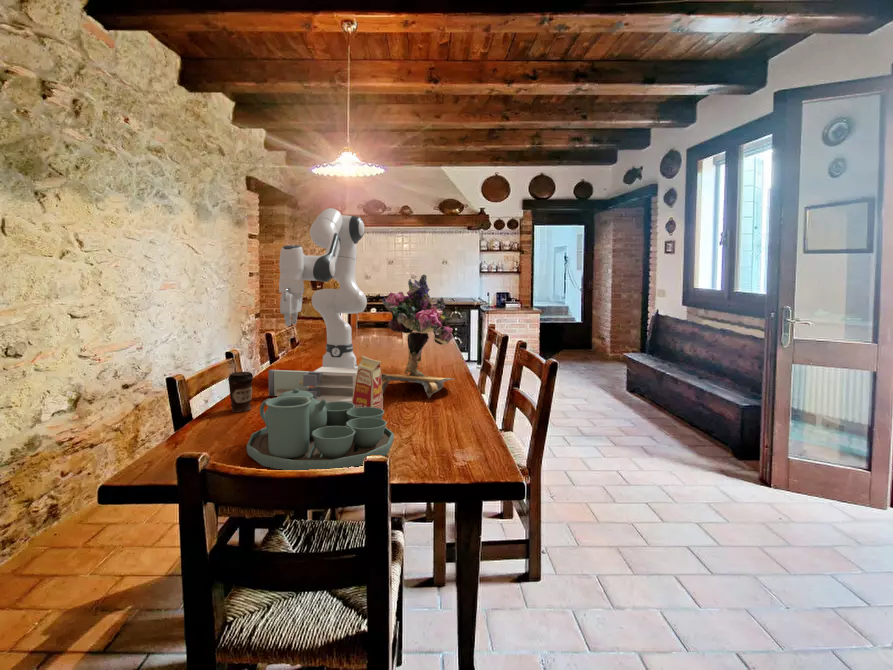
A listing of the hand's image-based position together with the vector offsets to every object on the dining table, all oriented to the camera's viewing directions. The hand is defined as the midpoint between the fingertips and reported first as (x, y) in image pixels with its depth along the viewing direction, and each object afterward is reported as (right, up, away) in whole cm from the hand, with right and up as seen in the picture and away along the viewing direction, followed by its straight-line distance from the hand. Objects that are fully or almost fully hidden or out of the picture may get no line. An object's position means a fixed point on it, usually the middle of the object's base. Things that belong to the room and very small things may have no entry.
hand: (290, 325), depth 211 cm
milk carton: (+32, -31, -18) cm, 48 cm away
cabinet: (+16, -28, -2) cm, 33 cm away
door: (-2, -27, +2) cm, 27 cm away
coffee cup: (-12, -30, -17) cm, 37 cm away
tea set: (+24, -36, -53) cm, 68 cm away
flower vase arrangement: (+46, -27, +18) cm, 56 cm away
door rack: (0, -27, +3) cm, 27 cm away
